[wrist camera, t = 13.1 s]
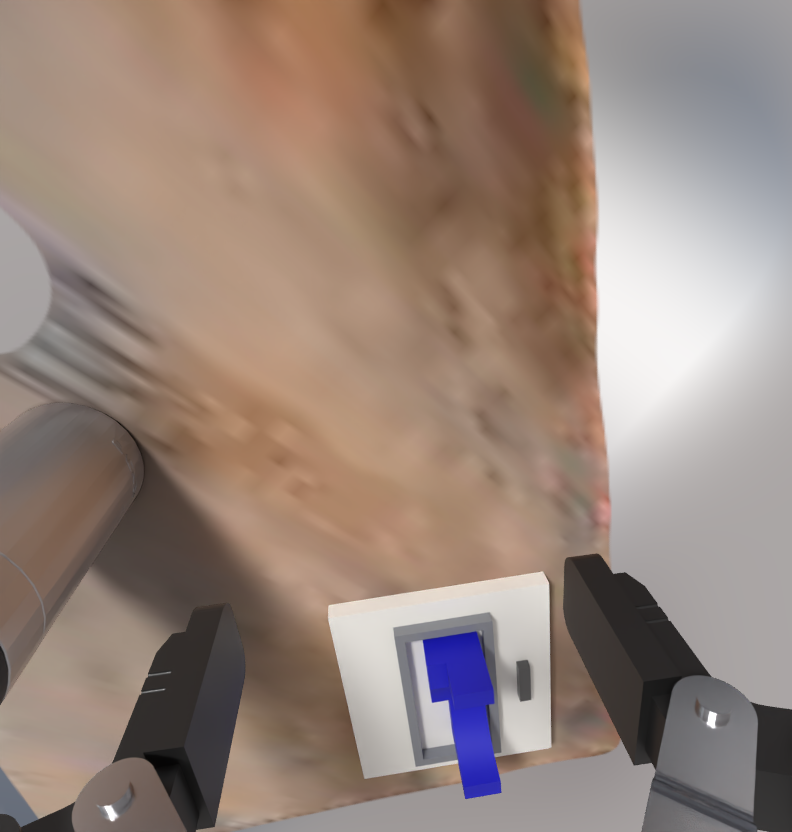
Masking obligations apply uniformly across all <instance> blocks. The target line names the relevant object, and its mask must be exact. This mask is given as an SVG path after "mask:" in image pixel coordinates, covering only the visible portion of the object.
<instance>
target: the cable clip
mask: <svg viewBox="0 0 792 832" xmlns="http://www.w3.org/2000/svg"><path fill="white" fill-rule="evenodd" d="M423 647H424V654H425V661H426V668H427V675H428V682H429V689H430V695H431V701H432V703H435V702H441V701H447V700H448V703H449V711H450V719H451V727H452V734H453V739H454V744H455V749H456V754H457V759H458V764H459V769H460V774H461V780H462V785H463V790H464V795H465V799H468V798H474V797H480V796H486V795H491V794H498V793H501V782H500V777H499V773H498V769H497V765H496V760H495V756H494V751H493V746H492V741H491V736H490V731H489V725H488V719H487V713H486V706H485V705H490V704H495V702H494V689H493V686H492V682H491V679H490V676H489V672H488V669H487V665H486V662H485V659H484V655H483V652H482V648H481V645H480V641H479V638H478V635H477V631H475V632H469V633H463V634H456V635H450V636H444V637H438V638H431V639H425V640H423Z"/></svg>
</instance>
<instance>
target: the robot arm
mask: <svg viewBox="0 0 792 832" xmlns="http://www.w3.org/2000/svg"><path fill="white" fill-rule="evenodd" d="M143 479H144V465H143V460H142V456H141V453H140V451H139V449H138V447H137V445H136V442H135V441H134V440H133V438H132V437H131V436H130V435H129V433H128V432H127V431H126V430H125V429H124V428H123V427H122V426H121V425H120V424H119V423H117V422H116V421H115V420H113V419H112V418H110V417H109V416H107V415H105V414H104V413H102V412H100V411H97V410H95V409H92V408H90V407H87V406H82V405H78V404H73V403H51V404H45V405H40V406H38V407H35V408H33V409H30V410H28V411H27V412H25V413H24V414H22V415H21V416H19V417H18V418H16V419H15V420H14V421H12V422H11V423H10V424H8V425H7V426H5V427H4V428H3V429H1V430H0V705H1V703H2V701H3V700H4V699H5V697H6V696H7V694H8V693H9V691H10V690H11V688H12V687H13V685H14V683H15V682H16V680H17V679H18V677H19V676H20V674H21V673H22V671H23V670H24V668H25V667H26V665H27V664H28V662H29V660H30V659H31V657H32V656H33V654H34V653H35V651H36V650H37V648H38V646H39V645H40V643H41V642H42V640H43V639H44V637H45V636H46V634H47V632H48V631H49V629H50V628H51V626H52V625H53V623H54V622H55V620H56V619H57V617H58V616H59V614H60V613H61V611H62V610H63V608H64V606H65V605H66V603H67V602H68V600H69V599H70V597H71V596H72V594H73V593H74V591H75V590H76V588H77V587H78V585H79V583H80V582H81V580H82V579H83V577H84V576H85V574H86V573H87V571H88V570H89V568H90V567H91V565H92V564H93V562H94V561H95V559H96V557H97V556H98V554H99V553H100V551H101V550H102V548H103V547H104V545H105V544H106V542H107V541H108V539H109V538H110V536H111V534H112V533H113V531H114V530H115V528H116V527H117V526H118V524H119V522H120V521H121V519H122V518H123V516H124V515H125V513H126V512H127V510H128V508H129V507H130V505H131V504H132V502H133V501H134V499H135V497H136V496H137V494H138V493H139V491H140V489H141V486H142V482H143ZM563 610H564V617H565V622H566V625H567V629H568V631H569V634H570V636H571V638H572V640H573V642H574V644H575V646H576V648H577V650H578V652H579V654H580V656H581V658H582V660H583V663H584V665H585V667H586V669H587V671H588V673H589V675H590V677H591V679H592V681H593V683H594V685H595V687H596V689H597V691H598V693H599V695H600V697H601V699H602V701H603V703H604V705H605V707H606V709H607V711H608V713H609V716H610V718H611V720H612V722H613V724H614V726H615V728H616V730H617V732H618V734H619V736H620V738H621V740H622V742H623V744H624V746H625V748H626V750H627V752H628V754H629V756H630V758H631V760H632V762H633V764H634V765H640V764H647V763H652V764H653V765H654V768H655V770H656V772H655V776H654V778H653V780H652V784H651V788H650V793H649V798H648V802H647V807H646V812H645V817H644V822H643V826H642V831H641V832H757V830H763V831H767V832H792V710H790V709H783V708H777V707H770V706H764V705H758V704H755V703H752V702H750V701H749V700H748V699H747V698H746V697H745V696H744V695H743V694H742V693H741V692H740V691H739V690H737V689H736V688H734V687H733V686H731V685H730V684H728V683H726V682H724V681H721V680H719V679H716V678H713V677H711V676H710V674H709V673H708V672H707V670H706V669H705V668H704V666H703V665H702V664H701V662H700V661H699V660H698V658H697V657H696V655H695V654H694V653H693V651H692V650H691V649H690V647H689V646H688V645H687V643H686V642H685V640H684V639H683V638H682V636H681V635H680V634H679V632H678V631H677V629H676V628H675V627H674V625H673V624H672V623H671V621H668V617H667V616H666V615H665V613H664V612H663V611H662V609H661V608H660V607H658V605H657V602H656V601H655V600H654V598H653V597H652V595H651V594H650V593H649V591H648V590H647V588H646V587H645V586H644V585H642V584H641V583H639V582H638V581H637V580H635V579H634V578H633V577H631V576H630V575H628V574H627V573H625V572H624V573H617V574H613V573H612V571H611V570H610V568H609V567H608V565H607V564H606V562H605V561H604V560H603V558H602V557H601V556H600V555H599V554H590V555H583V556H575V557H568V558H566V560H565V566H564V599H563ZM244 679H245V655H244V650H243V646H242V642H241V639H240V635H239V632H238V628H237V625H236V621H235V618H234V614H233V611H232V608H231V606H230V604H229V603H224V604H216V605H209V606H202V607H196V608H195V609H194V610H193V612H192V615H191V618H190V621H189V623H188V626H187V629H186V632H182V633H175V634H172V635H171V636H170V637H169V639H168V640H167V641H166V642H165V643H164V644H163V646H162V647H161V648H160V649H159V650H158V652H157V653H156V655H155V658H154V660H153V663H152V665H151V668H150V670H149V673H148V678H146V680H145V683H144V685H143V688H142V690H141V691H142V693H141V695H139V698H138V700H137V703H136V705H135V708H134V710H133V713H132V715H131V718H130V720H129V723H128V725H127V728H126V730H125V733H124V735H123V738H122V740H121V743H120V745H119V748H118V750H117V753H116V755H115V758H114V760H113V762H112V764H110V765H109V766H107V767H105V768H104V769H102V770H101V771H100V772H98V773H97V774H96V775H95V776H94V777H93V778H92V779H91V780H90V781H89V782H88V783H87V784H86V785H85V787H84V788H83V789H82V791H81V792H80V794H79V796H78V798H77V799H76V802H74V803H72V804H71V805H69V806H67V807H65V808H63V809H61V810H58V811H56V812H54V813H52V814H49V815H47V816H45V817H43V818H41V819H38V820H36V821H34V822H32V823H30V824H27V825H25V826H23V827H20V826H19V824H18V823H17V821H16V820H15V819H14V818H13V817H11V816H9V815H6V814H0V832H196V830H198V829H204V828H211V827H215V822H216V818H217V813H218V808H219V803H220V798H221V793H222V788H223V783H224V778H225V773H226V768H227V763H228V758H229V753H230V748H231V743H232V738H233V733H234V728H235V724H236V719H237V714H238V709H239V704H240V699H241V694H242V689H243V684H244Z"/></svg>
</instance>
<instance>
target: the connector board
mask: <svg viewBox="0 0 792 832" xmlns="http://www.w3.org/2000/svg"><path fill="white" fill-rule="evenodd" d="M328 620H329V625H330V629H331V634H332V638H333V642H334V647H335V651H336V656H337V660H338V665H339V669H340V673H341V678H342V682H343V687H344V691H345V695H346V700H347V704H348V709H349V713H350V718H351V722H352V726H353V731H354V735H355V740H356V744H357V749H358V753H359V757H360V762H361V766H362V771H363V775H364V779H368V778H374V777H380V776H386V775H392V774H398V773H404V772H409V771H415V770H421V769H427V768H433V767H439V766H445V765H451V764H457V763H458V759H457V754H456V749H455V744H454V739H453V734H452V727H451V719H450V711H449V703H448V700H447V701H441V702H435V703H432V701H431V695H430V689H429V682H428V675H427V668H426V661H425V654H424V647H423V640H425V639H431V638H438V637H444V636H450V635H456V634H463V633H469V632H475V631H477V635H478V638H479V641H480V645H481V648H482V652H483V655H484V659H485V662H486V665H487V669H488V672H489V676H490V679H491V682H492V686H493V689H494V702H495V704H490V705H485V706H486V713H487V719H488V725H489V731H490V736H491V741H492V746H493V751H494V756H495V757H499V756H505V755H511V754H517V753H523V752H529V751H535V750H541V749H547V748H551V691H550V608H549V582H548V580H547V578H546V576H545V574H544V572H536V573H530V574H524V575H517V576H511V577H505V578H498V579H492V580H486V581H479V582H473V583H467V584H460V585H454V586H447V587H441V588H435V589H428V590H422V591H416V592H409V593H403V594H397V595H390V596H384V597H378V598H371V599H365V600H358V601H352V602H346V603H339V604H333V605H329V608H328Z"/></svg>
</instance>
